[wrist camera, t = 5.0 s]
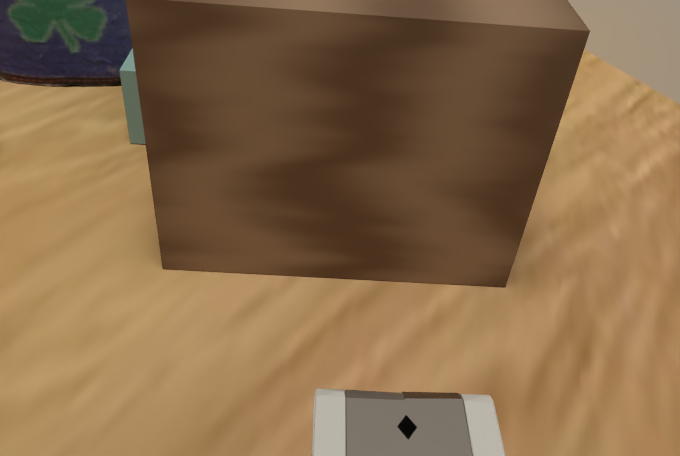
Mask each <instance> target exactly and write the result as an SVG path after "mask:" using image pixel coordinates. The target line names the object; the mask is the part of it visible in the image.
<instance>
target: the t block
mask: <svg viewBox="0 0 680 456" xmlns="http://www.w3.org/2000/svg"><path fill="white" fill-rule="evenodd" d="M126 5H127V12H128V19H129V27H130V34H131V41H132V48H133V56H134V63H135V70H136V78H137V85H138V92H139V99H140V107H141V114H142V121H143V128H144V136H145V143H146V150H147V158H148V165H149V172H150V179H151V187H152V194H153V201H154V208H155V216H156V223H157V230H158V238H159V245H160V252H161V259H162V267H163V269H175V270H193V271H212V272H231V273H249V274H268V275H287V276H305V277H324V278H343V279H361V280H380V281H399V282H417V283H436V284H455V285H473V286H492V287H505V286H506V283H507V280H508V277H509V274H510V271H511V268H512V265H513V262H514V259H515V256H516V253H517V250H518V247H519V244H520V241H521V238H522V235H523V232H524V229H525V226H526V223H527V220H528V217H529V214H530V211H531V208H532V205H533V202H534V199H535V196H536V193H537V190H538V187H539V184H540V181H541V178H542V174H543V171H544V168H545V165H546V162H547V159H548V156H549V153H550V150H551V147H552V144H553V141H554V138H555V135H556V132H557V129H558V126H559V123H560V120H561V117H562V114H563V111H564V108H565V105H566V102H567V99H568V96H569V93H570V90H571V87H572V84H573V81H574V78H575V75H576V72H577V69H578V66H579V63H580V60H581V57H582V54H583V51H584V48H585V45H586V41H587V38H588V35H589V32H590V30H589V29H588V28H587V26H586V25H585V24H584V22H583V21H582V19H581V18H580V17H579V16H578V14H577V13H576V11H575V10H574V9H573V7H572V6H571V5H570V3H569V2H568V0H126Z"/></svg>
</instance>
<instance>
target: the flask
mask: <svg viewBox="0 0 680 456" xmlns="http://www.w3.org/2000/svg"><path fill="white" fill-rule="evenodd" d="M131 50H132V41H131V34H130V27H129V19H128V12H127V5H126V0H0V79H1V80H3V81H9V82H14V83H25V84H34V85H39V84H41V85H46V86H59V85H63V86H67V85H68V86H69V85H71V84H73V85H75V84H77V85H80V86H81V85H82V86H90V85H92V86H94V85H95V86H97V85H98V86H102V85H105V86H106V85H117V84H118V85H122V84H121V78H120V71H119V70H120V68H121V67H122V65H123V63H124V62H125V60H126V58H127V56H128V55H129V53H130V51H131Z"/></svg>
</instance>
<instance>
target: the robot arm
mask: <svg viewBox="0 0 680 456" xmlns="http://www.w3.org/2000/svg"><path fill="white" fill-rule="evenodd" d="M311 456H506V455H505V451H504V446H503V442H502V437H501V433H500V428H499V424H498V419H497V414H496V410H495V405H494V401H493V399H492V398H491V396H490V395H483V394H459V393H432V392H402V393H394V392H376V391H358V390H344V389H317V388H316V389H315V395H314V412H313V432H312V453H311Z"/></svg>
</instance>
